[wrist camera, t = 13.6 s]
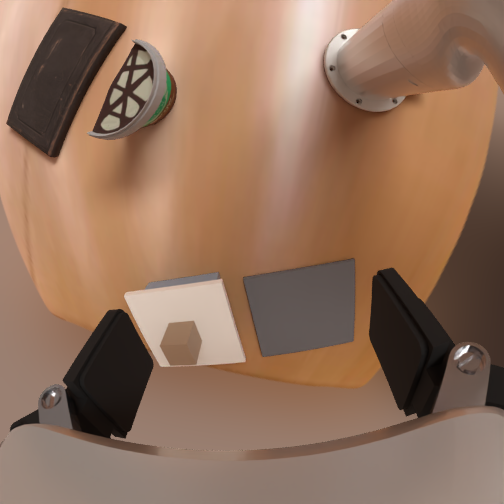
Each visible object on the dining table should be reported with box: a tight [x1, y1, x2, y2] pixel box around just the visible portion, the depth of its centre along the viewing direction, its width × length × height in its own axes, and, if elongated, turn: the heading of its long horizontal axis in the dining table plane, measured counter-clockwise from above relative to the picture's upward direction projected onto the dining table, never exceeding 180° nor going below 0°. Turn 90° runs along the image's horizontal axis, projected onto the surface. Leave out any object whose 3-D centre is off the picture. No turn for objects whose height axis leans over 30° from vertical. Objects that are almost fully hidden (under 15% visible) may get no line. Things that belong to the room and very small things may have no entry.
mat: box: [243, 259, 355, 357], centre depth 44 cm, size 17×17×1 cm
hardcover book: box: [6, 8, 127, 157], centre depth 27 cm, size 16×23×2 cm
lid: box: [124, 279, 246, 367], centre depth 37 cm, size 15×15×6 cm
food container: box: [87, 39, 177, 140], centre depth 26 cm, size 12×6×10 cm, turn 150°
